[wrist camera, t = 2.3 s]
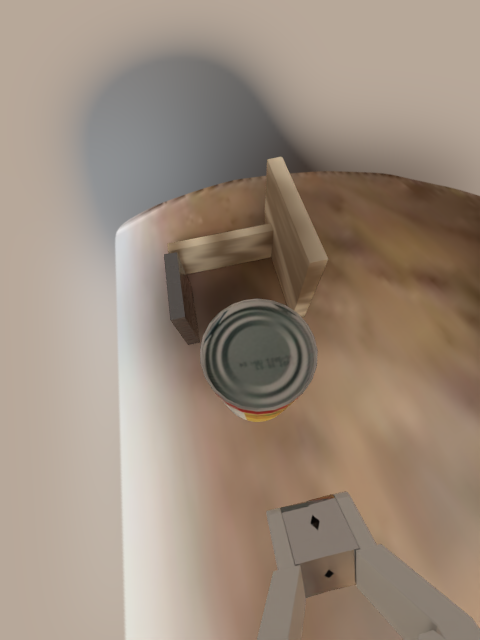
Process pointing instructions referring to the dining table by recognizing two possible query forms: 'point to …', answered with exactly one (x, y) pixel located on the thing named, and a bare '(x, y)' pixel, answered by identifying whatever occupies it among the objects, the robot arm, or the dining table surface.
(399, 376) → the dining table surface
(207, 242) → the shelf wall
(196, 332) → the bookend
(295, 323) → the canned food
